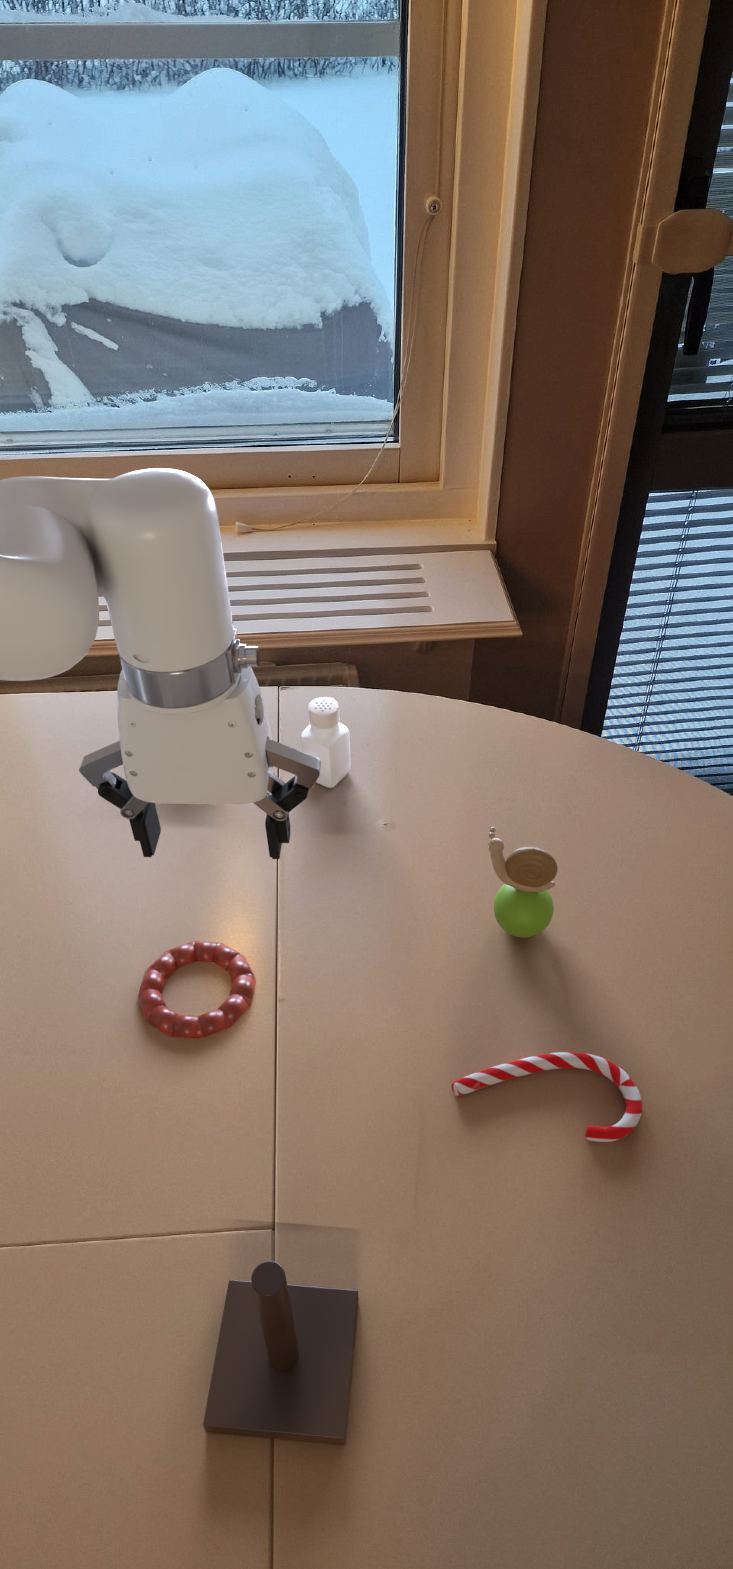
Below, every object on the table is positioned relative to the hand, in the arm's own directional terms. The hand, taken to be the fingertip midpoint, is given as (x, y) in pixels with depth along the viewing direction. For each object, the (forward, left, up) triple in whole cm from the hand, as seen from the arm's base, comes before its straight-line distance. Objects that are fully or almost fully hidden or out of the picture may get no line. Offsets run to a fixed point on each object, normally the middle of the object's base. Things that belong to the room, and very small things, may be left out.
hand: (214, 845), depth 79 cm
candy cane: (+26, -9, -19) cm, 34 cm away
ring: (-4, -1, -18) cm, 18 cm away
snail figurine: (+24, +9, -19) cm, 32 cm away
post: (+8, -30, -19) cm, 36 cm away
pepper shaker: (+4, +29, -19) cm, 35 cm away
